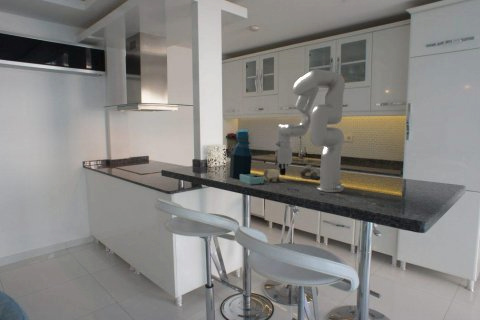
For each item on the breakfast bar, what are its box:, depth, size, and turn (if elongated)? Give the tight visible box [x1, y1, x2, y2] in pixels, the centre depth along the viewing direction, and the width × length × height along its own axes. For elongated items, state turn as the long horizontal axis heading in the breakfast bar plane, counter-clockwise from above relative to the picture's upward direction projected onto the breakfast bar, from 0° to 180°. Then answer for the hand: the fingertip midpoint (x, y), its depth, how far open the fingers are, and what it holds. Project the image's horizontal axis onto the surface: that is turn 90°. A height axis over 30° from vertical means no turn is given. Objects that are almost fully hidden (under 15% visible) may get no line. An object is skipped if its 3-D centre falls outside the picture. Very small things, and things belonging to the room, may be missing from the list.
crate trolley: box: [262, 168, 280, 183], centre depth 181 cm, size 8×7×6 cm
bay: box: [239, 173, 265, 185], centre depth 175 cm, size 12×9×4 cm
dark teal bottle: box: [229, 129, 253, 180], centre depth 193 cm, size 21×14×30 cm, turn 179°
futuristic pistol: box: [299, 164, 321, 181], centre depth 187 cm, size 2×15×10 cm, turn 53°
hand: (282, 174), depth 185 cm, fingers closed
